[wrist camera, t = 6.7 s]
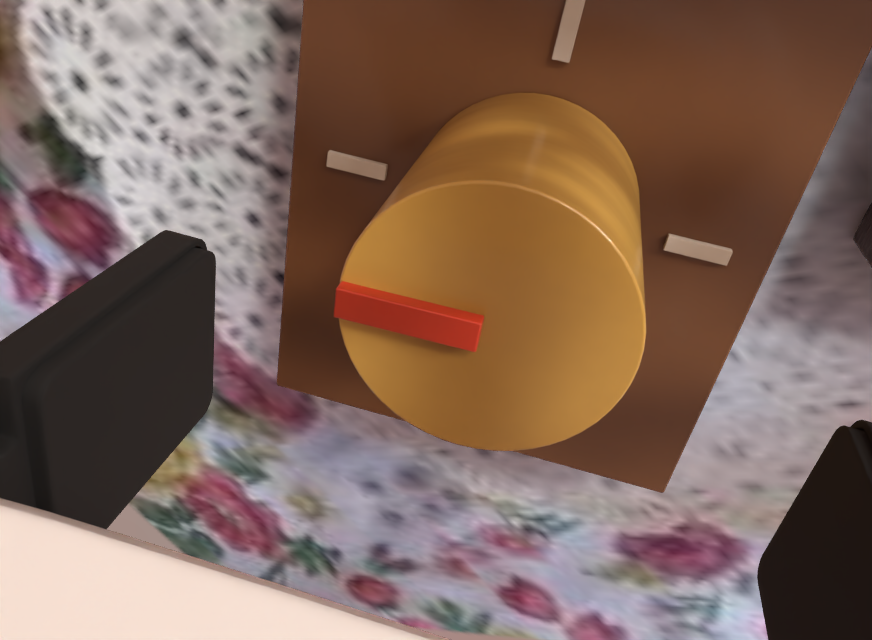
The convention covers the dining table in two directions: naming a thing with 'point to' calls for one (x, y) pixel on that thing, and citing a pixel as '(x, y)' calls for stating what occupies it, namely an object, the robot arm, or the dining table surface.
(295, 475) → the dining table surface
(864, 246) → the button box
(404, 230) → the dial knob
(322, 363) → the knob panel
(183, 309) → the robot arm
